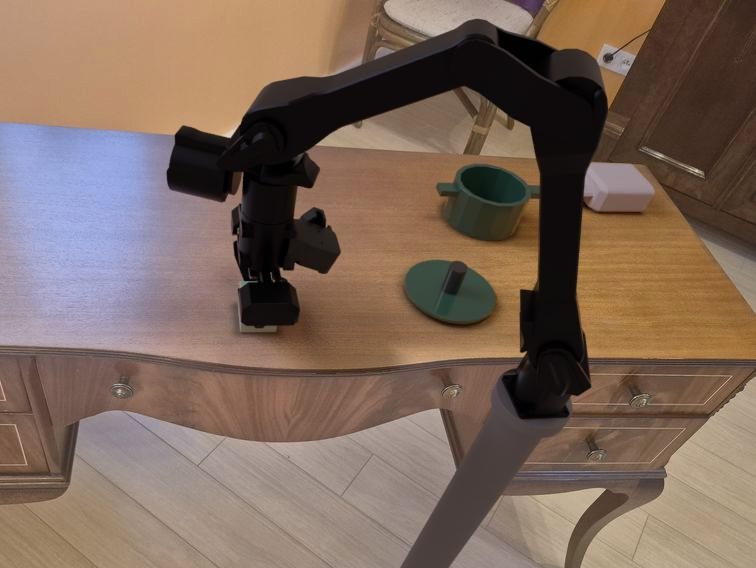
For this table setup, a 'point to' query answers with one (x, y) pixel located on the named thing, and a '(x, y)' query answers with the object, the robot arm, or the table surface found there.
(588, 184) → the charger
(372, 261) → the table surface
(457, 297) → the lid
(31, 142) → the table surface
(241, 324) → the block
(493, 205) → the pot
